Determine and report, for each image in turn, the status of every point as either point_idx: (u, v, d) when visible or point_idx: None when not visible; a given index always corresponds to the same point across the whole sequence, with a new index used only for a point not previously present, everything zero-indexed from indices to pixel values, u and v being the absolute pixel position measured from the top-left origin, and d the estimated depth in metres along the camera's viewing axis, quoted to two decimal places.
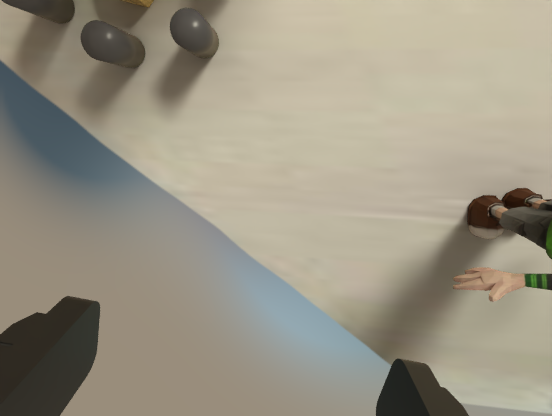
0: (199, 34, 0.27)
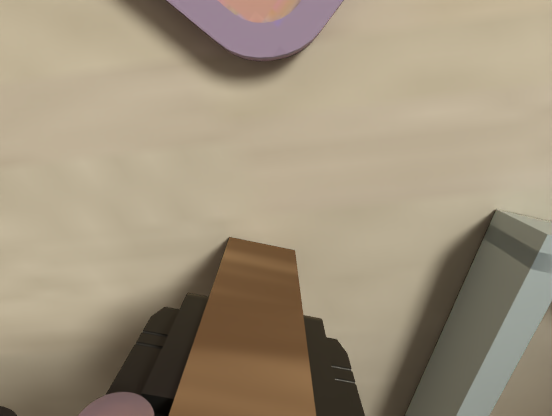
0: None
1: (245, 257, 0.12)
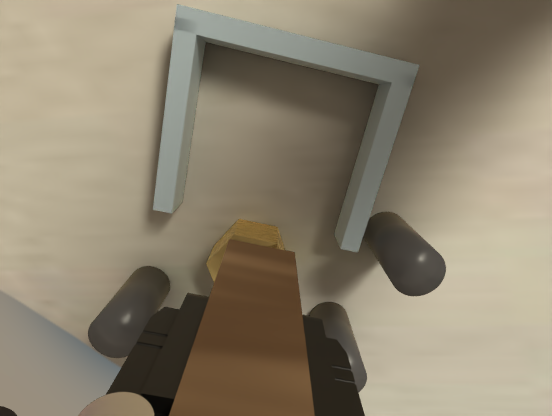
0: None
1: (245, 259, 0.12)
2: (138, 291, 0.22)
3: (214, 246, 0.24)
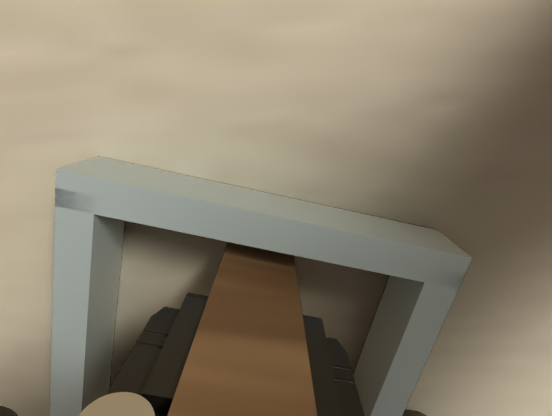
0: None
1: (245, 254, 0.12)
2: None
3: None
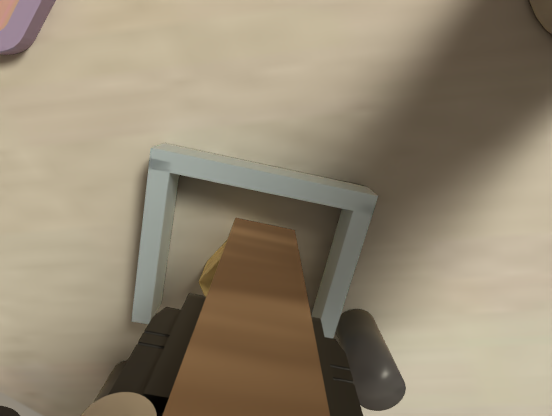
0: None
1: (250, 232, 0.13)
2: None
3: (207, 262, 0.23)
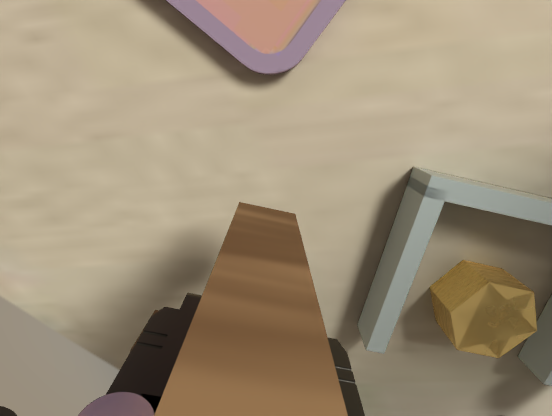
0: None
1: (254, 214, 0.14)
2: None
3: (435, 289, 0.22)
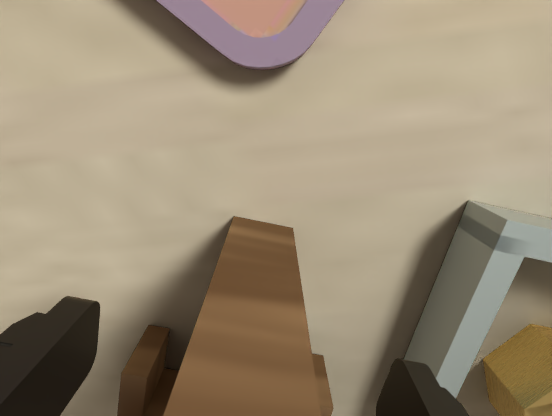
0: None
1: (248, 232, 0.13)
2: None
3: (492, 364, 0.16)
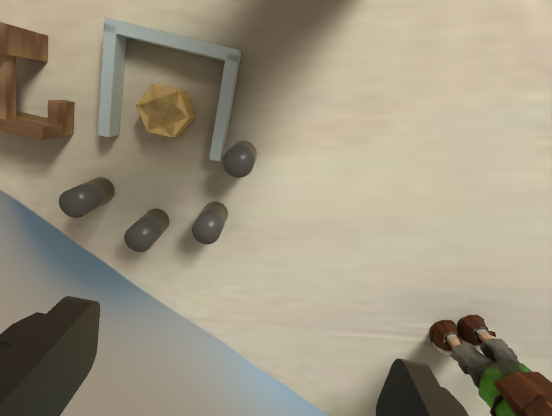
0: (214, 234, 0.36)
1: None
2: (90, 185, 0.37)
3: None
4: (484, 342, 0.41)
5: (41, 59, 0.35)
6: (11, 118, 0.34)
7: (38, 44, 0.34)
